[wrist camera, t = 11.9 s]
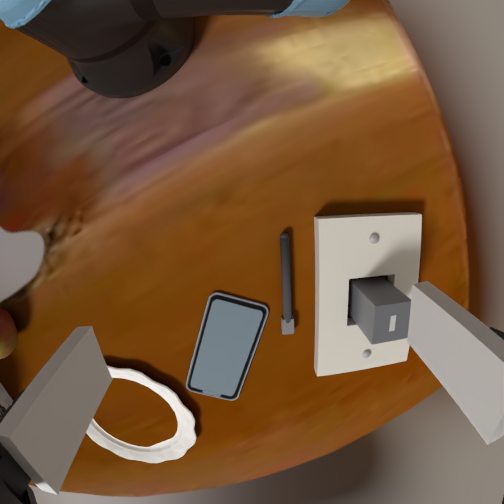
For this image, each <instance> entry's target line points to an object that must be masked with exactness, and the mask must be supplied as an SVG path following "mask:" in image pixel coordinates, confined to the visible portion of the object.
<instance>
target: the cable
mask: <svg viewBox="0 0 504 504" xmlns="http://www.w3.org/2000/svg"><path fill="white" fill-rule="evenodd" d="M280 245H281V267H282V292H283V317H281V324H282V334H283V335H285V334H294V318H293V316H292V305H291V270H290V244H289V235H288V234H287V233H282V234H281V235H280Z"/></svg>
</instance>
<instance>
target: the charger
mask: <svg viewBox="0 0 504 504" xmlns="http://www.w3.org/2000/svg"><path fill="white" fill-rule="evenodd" d="M410 309H411V299H410V298H409V297H407V296H406V295H405V294H404V293H402V292H401V291H400V290H398V289H397V288H396V287H395V286H393V285H392V284H391V283H390V282H388V281H387V280H386V279H384V278H383V277H379V278H370V279H360V280H351V281H350V301H349V314H350V316H351V317H352V318H353V320H354V321H355V322H356V324H357V325H358V327H359V328H360V329H361V331H362V332H363V333H364V335H365V336H366V337H367V339H368V340H369V342H370V343H371V344H372V345H373V344H378V343H384V342H390V341H395V340H400V339H405V338H407V337H408V328H409V319H410Z"/></svg>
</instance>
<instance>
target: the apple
mask: <svg viewBox="0 0 504 504" xmlns="http://www.w3.org/2000/svg"><path fill="white" fill-rule="evenodd" d="M17 341H18V335H17V329H16V326H15V324H14V321H13V319H12V317H11V315H10V314H9V312H7V311H6V310H4V309H2V308H0V359H3V358H5V357H7V356H8V355H10V354H11V353H12V351H13V350H14V349H15V347H16V345H17Z"/></svg>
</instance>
